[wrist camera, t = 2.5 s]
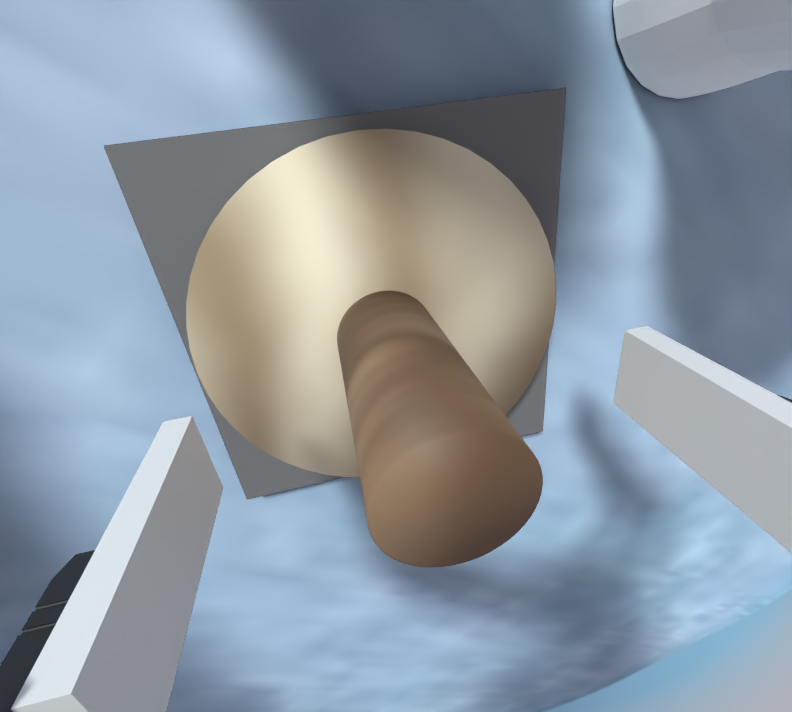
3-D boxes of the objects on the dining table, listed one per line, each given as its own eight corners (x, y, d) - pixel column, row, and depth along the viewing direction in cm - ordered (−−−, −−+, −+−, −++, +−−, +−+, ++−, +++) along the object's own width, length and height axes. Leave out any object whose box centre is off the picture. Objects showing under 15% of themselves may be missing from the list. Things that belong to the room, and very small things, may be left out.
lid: (254, 489, 21) (217, 752, 12) (126, 160, 13) (-214, 193, 5) (534, 425, 22) (686, 611, 14) (552, 105, 15) (900, 52, 6)
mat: (249, 485, 22) (247, 499, 21) (115, 145, 14) (103, 145, 13) (533, 420, 24) (542, 431, 23) (551, 90, 16) (566, 87, 15)
